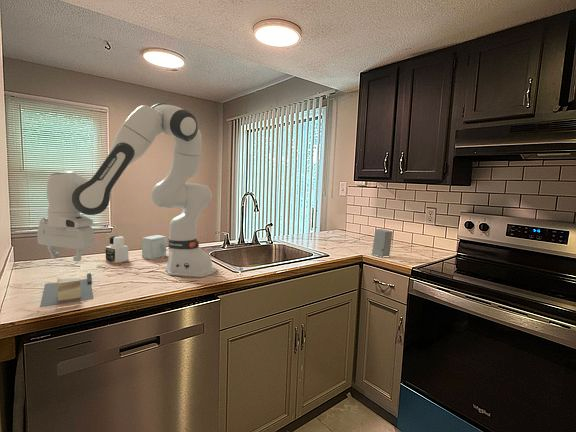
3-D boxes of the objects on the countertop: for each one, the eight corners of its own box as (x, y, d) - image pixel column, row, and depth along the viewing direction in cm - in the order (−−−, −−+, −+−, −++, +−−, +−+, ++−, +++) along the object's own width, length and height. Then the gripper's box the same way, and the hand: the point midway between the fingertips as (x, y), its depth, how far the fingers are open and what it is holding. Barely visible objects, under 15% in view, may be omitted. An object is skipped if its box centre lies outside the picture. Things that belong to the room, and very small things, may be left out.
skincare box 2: (371, 255, 187) (373, 228, 185) (379, 253, 191) (381, 228, 189) (382, 258, 180) (385, 231, 178) (390, 257, 184) (393, 230, 182)
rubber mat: (45, 284, 115) (45, 283, 115) (90, 279, 123) (90, 278, 122) (39, 308, 95) (39, 307, 95) (93, 300, 103) (93, 298, 103)
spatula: (96, 266, 143) (96, 262, 142) (99, 281, 118) (98, 278, 118) (80, 267, 139) (80, 264, 139) (79, 284, 115) (79, 280, 115)
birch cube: (57, 283, 99) (58, 301, 100) (80, 280, 103) (80, 297, 103) (57, 278, 104) (57, 295, 104) (78, 275, 107) (79, 292, 108)
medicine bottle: (105, 261, 149) (104, 236, 148) (119, 258, 155) (119, 234, 154) (114, 263, 146) (114, 238, 144) (128, 260, 152) (128, 236, 151)
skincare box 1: (151, 259, 155) (150, 238, 154) (141, 257, 158) (141, 237, 157) (166, 255, 165) (166, 235, 164) (157, 253, 167) (157, 234, 166)
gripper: (30, 218, 104) (32, 258, 106) (81, 223, 100) (82, 265, 102) (48, 216, 110) (50, 254, 112) (97, 220, 106) (98, 260, 108)
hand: (66, 259), depth 107 cm, fingers open, 8 cm apart
